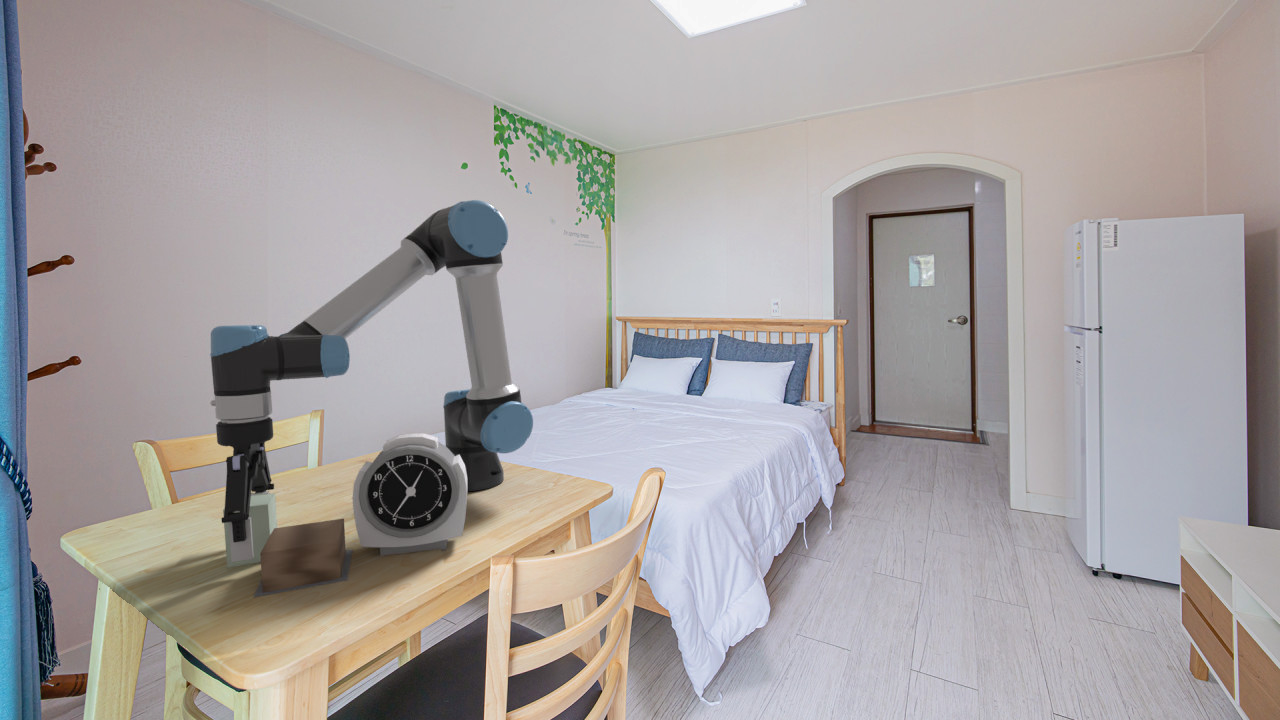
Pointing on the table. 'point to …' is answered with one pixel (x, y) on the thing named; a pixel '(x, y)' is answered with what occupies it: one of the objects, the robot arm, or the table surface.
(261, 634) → the table surface
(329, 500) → the table surface
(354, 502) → the alarm clock
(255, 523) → the sage block
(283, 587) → the walnut block
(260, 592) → the slate mat
